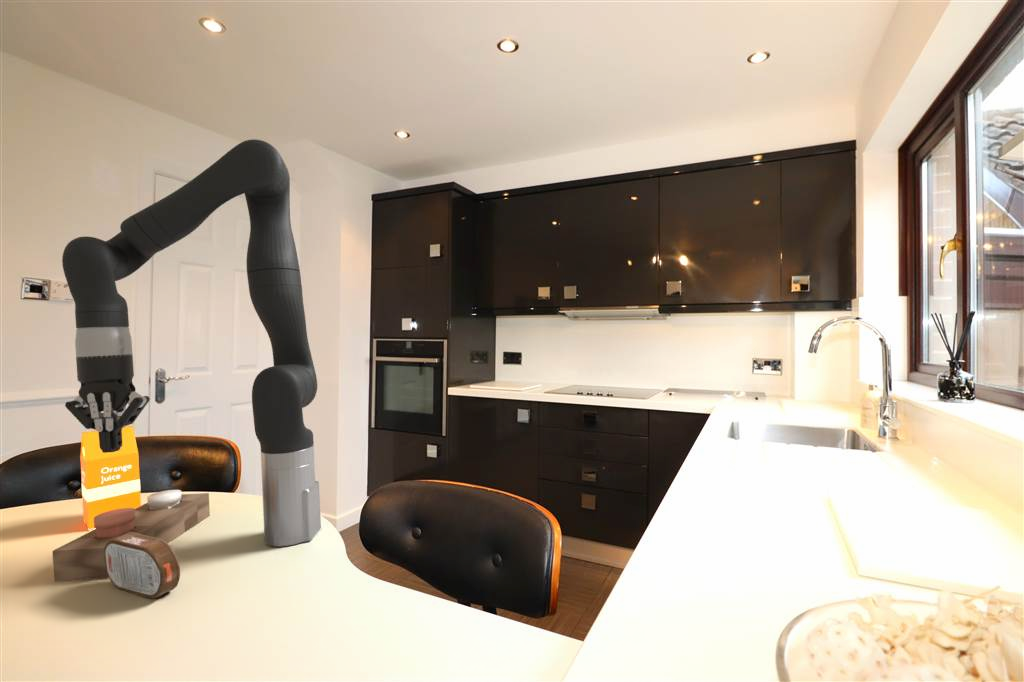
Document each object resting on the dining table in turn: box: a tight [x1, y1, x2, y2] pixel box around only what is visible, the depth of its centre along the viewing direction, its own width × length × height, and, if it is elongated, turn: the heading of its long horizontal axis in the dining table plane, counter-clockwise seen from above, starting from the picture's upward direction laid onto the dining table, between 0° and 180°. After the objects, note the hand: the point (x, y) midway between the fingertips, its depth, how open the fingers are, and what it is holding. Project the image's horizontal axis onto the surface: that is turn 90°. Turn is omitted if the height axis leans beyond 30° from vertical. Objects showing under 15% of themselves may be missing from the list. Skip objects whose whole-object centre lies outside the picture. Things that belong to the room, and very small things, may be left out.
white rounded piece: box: [146, 489, 182, 510], centre depth 96 cm, size 6×6×6 cm
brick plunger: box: [94, 508, 136, 538], centre depth 83 cm, size 6×6×6 cm
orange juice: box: [79, 425, 142, 529], centre depth 102 cm, size 8×9×20 cm
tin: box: [104, 532, 181, 599], centre depth 72 cm, size 15×3×8 cm, turn 67°
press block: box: [52, 492, 211, 582], centre depth 90 cm, size 10×26×5 cm, turn 4°
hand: (111, 451), depth 83 cm, fingers closed
